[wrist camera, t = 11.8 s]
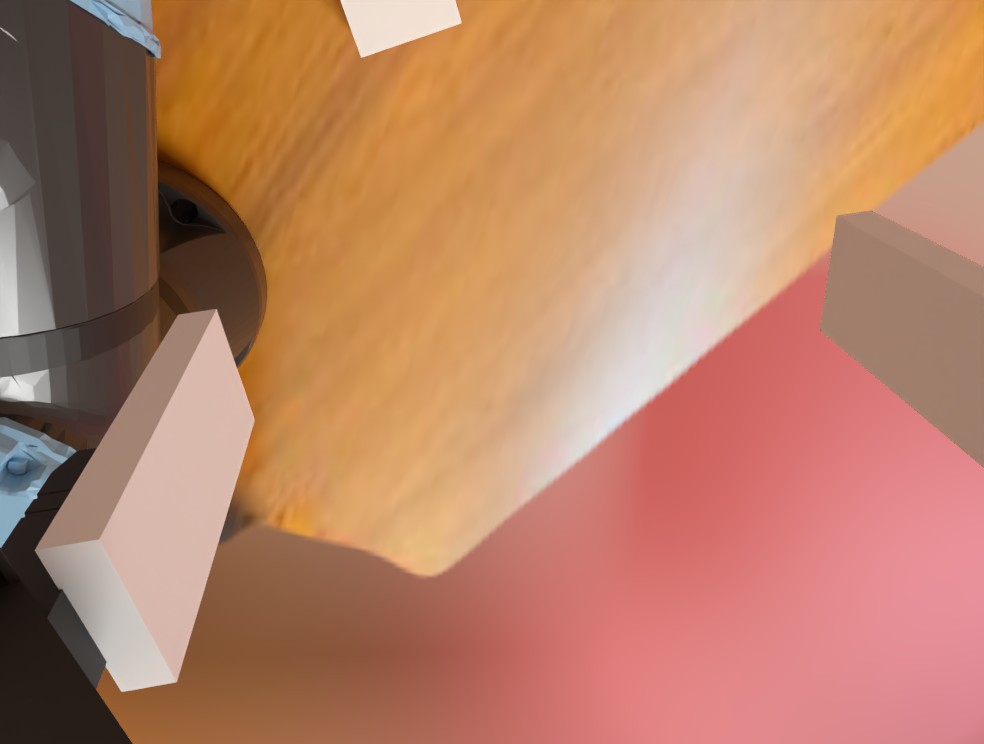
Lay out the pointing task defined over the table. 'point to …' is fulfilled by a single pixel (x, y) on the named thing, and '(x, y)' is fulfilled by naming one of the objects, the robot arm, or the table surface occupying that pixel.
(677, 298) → the table surface
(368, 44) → the white cube
